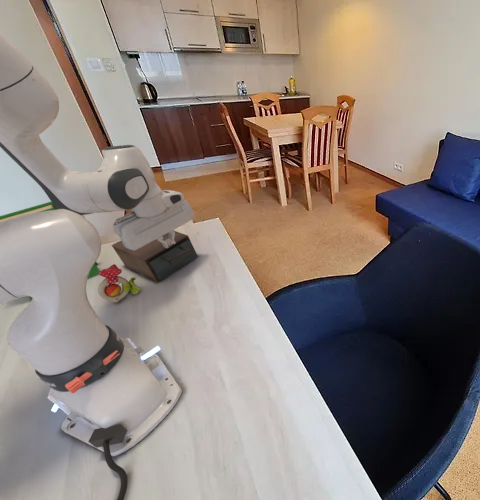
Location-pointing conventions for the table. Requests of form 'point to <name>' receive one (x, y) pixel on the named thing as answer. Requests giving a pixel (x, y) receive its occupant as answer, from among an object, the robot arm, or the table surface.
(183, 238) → the cabinet
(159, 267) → the drawer
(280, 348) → the table surface
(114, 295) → the bird rattle
